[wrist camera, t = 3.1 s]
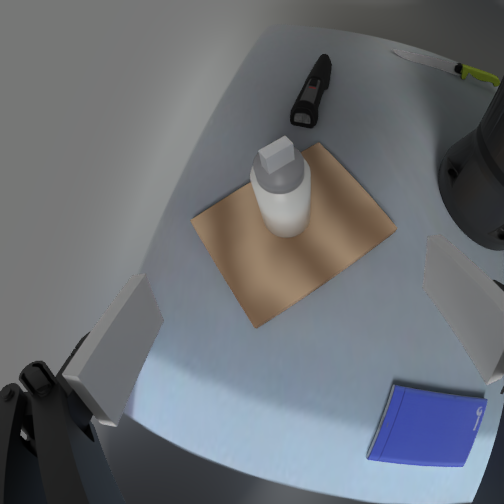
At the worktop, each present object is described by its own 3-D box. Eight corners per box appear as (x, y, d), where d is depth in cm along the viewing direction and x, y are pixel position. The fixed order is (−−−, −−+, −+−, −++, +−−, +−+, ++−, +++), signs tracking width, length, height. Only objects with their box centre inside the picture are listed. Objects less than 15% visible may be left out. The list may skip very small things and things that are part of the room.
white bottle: (292, 187, 32) (283, 113, 22) (319, 220, 30) (324, 152, 20) (254, 211, 32) (229, 143, 21) (280, 246, 30) (265, 187, 20)
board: (318, 147, 35) (318, 142, 34) (395, 231, 30) (397, 228, 29) (193, 224, 34) (190, 220, 33) (256, 328, 29) (254, 327, 28)
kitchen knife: (391, 62, 40) (391, 49, 38) (390, 59, 41) (391, 46, 38) (497, 91, 33) (501, 80, 30) (495, 87, 33) (499, 76, 31)
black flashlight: (336, 69, 40) (337, 55, 37) (315, 130, 36) (315, 113, 33) (314, 66, 41) (314, 51, 38) (288, 125, 37) (286, 108, 34)
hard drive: (488, 398, 20) (396, 385, 24) (463, 467, 18) (367, 460, 21) (481, 397, 22) (391, 383, 25) (457, 463, 20) (364, 455, 23)
